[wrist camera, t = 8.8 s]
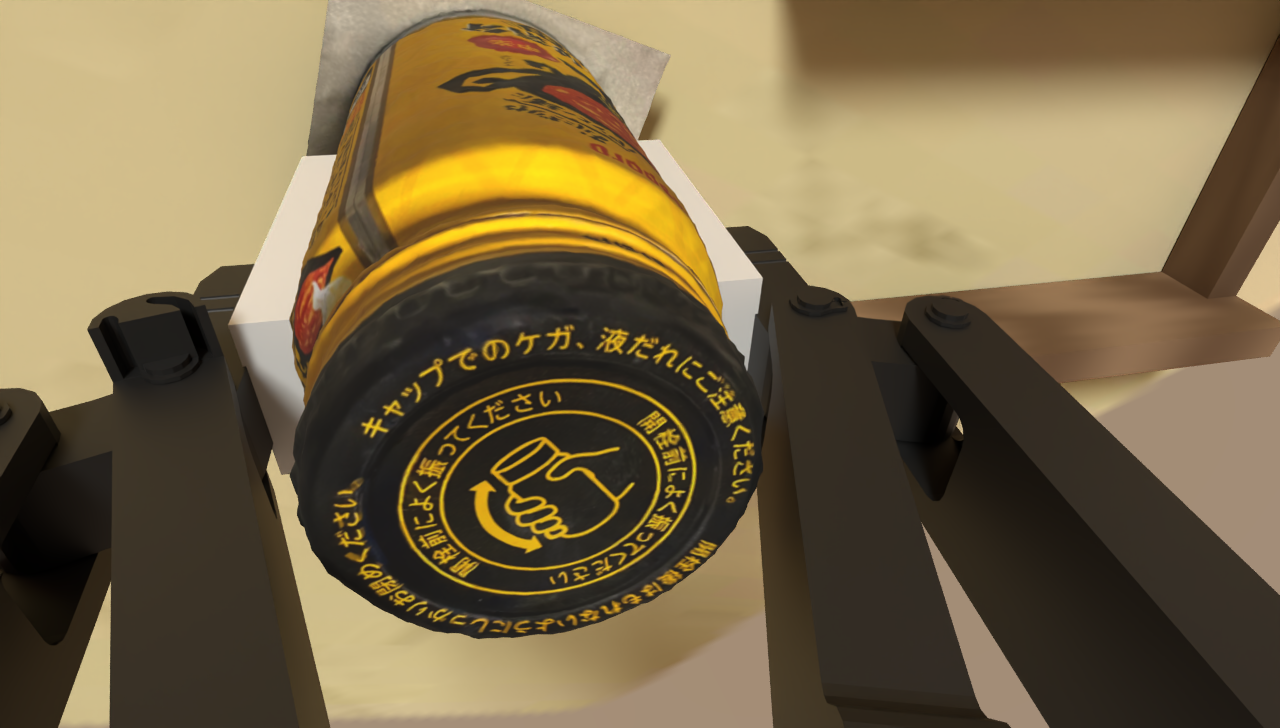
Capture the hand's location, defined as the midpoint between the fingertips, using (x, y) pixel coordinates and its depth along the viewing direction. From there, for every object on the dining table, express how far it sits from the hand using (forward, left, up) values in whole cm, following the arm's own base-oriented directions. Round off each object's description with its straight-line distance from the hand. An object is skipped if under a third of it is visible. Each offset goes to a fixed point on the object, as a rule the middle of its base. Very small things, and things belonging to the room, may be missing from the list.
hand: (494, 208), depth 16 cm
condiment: (0, 0, -2) cm, 2 cm away
